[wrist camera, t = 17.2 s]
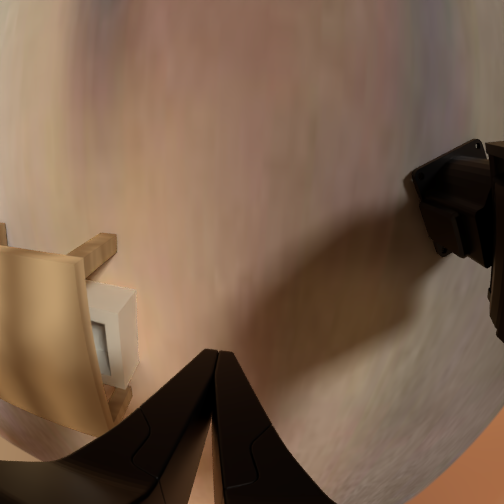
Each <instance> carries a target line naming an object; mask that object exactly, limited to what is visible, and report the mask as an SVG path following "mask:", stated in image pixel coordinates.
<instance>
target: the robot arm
mask: <svg viewBox="0 0 504 504" xmlns="http://www.w3.org/2000/svg"><path fill="white" fill-rule="evenodd" d="M476 144H477V148H476V147H475V145H476ZM485 146H486V153H487V154H488V156H489V160H488V159H487V157H486V154H485V151H484V148H483V145H482V142H481V141H480V140H479V139H472V140H470V141H468V142H466V143H464V144H462V145H460V146H458V147H456V148H454V149H453V150H451V151H449V152H447V153H445V154H443V155H441V156H439V157H437V158H435V159H433V160H431V161H429V162H428V163H426V164H424V165H422V166H420V167H418V168H416V169H415V170H414V171H413V172H412V179H413V182H414V184H415V187H416V190H417V193H418V195H419V198H420V201H421V202H420V205H419V207H420V210H421V213H422V216H423V219H424V222H425V225H426V228H427V231H428V235H429V238H430V239H432V240H433V242H434V245H435V249H436V252H437V254H439V255H440V256H441V257H445V256H447V255H449V254H450V253H452V252H453V253H454V254H456V255H457V256H459V257H461V258H466V257H467V256H468V257H470V258H471V259H473V260H474V261H476V262H477V263H479V264H480V265H482V266H483V267H485V268H489V267H491V266H492V268H491V281H490V288H489V289H488V300H489V302H490V317H491V320H492V322H493V324H494V326H495V328H496V329H497V331H496V336H497V337H498V338H499V339H500V340H501V341H502V342H503V343H504V141H498V142H488V143H485ZM419 173H421V175H422V177H421V179H420V180H419V179H418V174H419ZM443 247H444V250H443V251H442V248H443ZM211 417H212V455H213V481H214V502H215V504H337V503H335V502H334V501H333V500H331V499H330V498H329V497H328V496H327V495H326V494H325V493H324V492H323V491H322V490H321V489H320V488H319V486H318V485H317V484H316V483H315V482H314V481H313V480H312V478H311V477H310V476H309V475H308V474H307V473H306V471H305V470H304V469H303V468H302V467H301V466H300V464H299V463H298V462H297V461H296V459H295V458H294V457H293V456H292V454H291V453H290V452H289V450H288V449H287V448H286V446H285V444H284V443H283V441H282V440H281V438H280V437H279V435H278V433H277V432H276V430H275V428H274V426H272V423H271V421H270V420H269V418H268V416H267V414H266V412H265V411H264V409H263V407H262V405H261V403H260V402H259V400H258V398H257V396H256V394H255V393H254V391H253V389H252V387H251V385H250V383H249V381H248V380H247V378H246V376H245V374H244V372H243V370H242V368H241V366H240V364H239V363H238V361H237V359H236V357H235V355H234V353H233V352H230V351H219V353H218V351H217V350H213V349H204V350H203V351H202V352H200V353H199V354H198V355H197V356H196V357H195V358H194V359H193V360H192V361H191V362H189V363H188V364H187V365H186V366H185V367H184V368H183V369H182V370H181V371H179V372H178V373H177V374H176V375H175V376H174V377H173V378H172V379H170V380H169V381H168V382H167V383H166V384H165V385H164V386H163V387H161V388H160V389H159V390H158V391H157V392H156V393H155V394H154V395H152V396H151V397H150V398H149V399H148V400H147V401H146V402H144V403H143V404H142V405H141V406H140V408H137V409H136V410H135V411H134V412H133V413H131V414H130V415H129V416H128V417H127V418H125V419H124V420H123V421H122V422H120V423H119V424H118V425H116V426H115V427H113V428H112V429H110V430H109V431H107V432H106V433H104V434H103V435H101V436H100V437H98V438H97V439H95V440H93V441H92V442H90V443H88V444H87V445H85V446H83V447H82V448H80V449H79V450H77V451H75V452H74V453H72V454H70V455H68V456H66V457H64V458H61V459H59V460H55V461H50V462H22V461H2V460H0V504H188V501H189V497H190V494H191V490H192V486H193V483H194V479H195V476H196V472H197V469H198V465H199V462H200V458H201V455H202V451H203V448H204V444H205V440H206V437H207V433H208V430H209V426H210V422H211Z"/></svg>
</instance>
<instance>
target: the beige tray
mask: <svg viewBox="0 0 504 504" xmlns="http://www.w3.org/2000/svg"><path fill="white" fill-rule="evenodd" d="M85 281H86V290H87V298H88V305H89V313H90V319H91V326H92V332H93V337H94V343H95V348H96V353H97V358H98V363H99V368H100V372H101V377H102V381H103V384H107V385H110V386H114V387H117V388H121V389H125V390H126V388H127V386H128V384H129V382H130V380H131V378H132V376H133V374H134V372H135V370H136V368H137V366H138V363H139V349H138V328H137V290H136V289H131V288H126V287H121V286H116V285H111V284H106V283H101V282H96V281H91V280H86V279H85Z"/></svg>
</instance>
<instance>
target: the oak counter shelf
mask: <svg viewBox="0 0 504 504" xmlns="http://www.w3.org/2000/svg"><path fill="white" fill-rule="evenodd" d="M116 252H117V237H116V234H107V233H100V234H98V235H97V236H95V237H93V238H92V239H90V240H89V241H87V242H85V243H84V244H82V245H81V246H79V247H78V248H76V249H75V250H73V251H71V252H70V253H68V254H67V255H60V254H54V253H47V252H40V251H34V250H27V249H21V248H14V247H8V246H7V238H6V228H5V223H0V398H1V399H2V400H4V401H6V402H9V403H11V404H13V405H15V406H17V407H19V408H21V409H23V410H26V411H28V412H30V413H32V414H35V415H37V416H39V417H42V418H44V419H47V420H49V421H52V422H54V423H57V424H60V425H62V426H65V427H68V428H70V429H73V430H76V431H79V432H82V433H85V434H88V435H91V436H94V437H100V436H101V435H103V434H104V433H106V432H107V431H109V430H110V429H112V428H113V427H115V426H116V425H118V424H119V423H120V422H121V421H122V419H123V416H124V414H125V412H126V410H127V407H128V405H129V403H130V400H131V398H132V390H131V386H127V388H126V390H125V389H121V388H117V387H116V388H115V390H114V392H113V394H112V396H111V398H110V400H109V402H108V401H107V398H106V394H105V390H104V385H103V381H102V377H101V372H100V368H99V363H98V358H97V353H96V348H95V343H94V337H93V332H92V326H91V319H90V313H89V305H88V298H87V290H86V281H85V278H87V277H88V276H89V275H90V274H91V273H92V272H94V271H95V270H96V269H97V268H98V267H99V266H101V265H102V264H103V263H104V262H105V261H107V260H108V259H109V258H110V257H111V256H113V255H114V254H115V253H116Z"/></svg>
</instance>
